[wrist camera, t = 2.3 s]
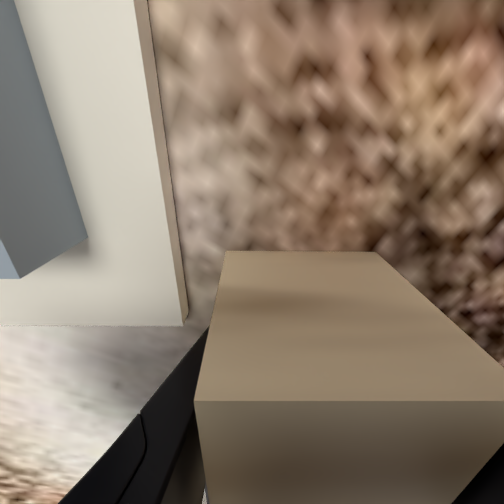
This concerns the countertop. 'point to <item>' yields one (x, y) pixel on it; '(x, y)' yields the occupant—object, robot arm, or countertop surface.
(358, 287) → the maple cube
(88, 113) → the board
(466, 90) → the countertop surface
